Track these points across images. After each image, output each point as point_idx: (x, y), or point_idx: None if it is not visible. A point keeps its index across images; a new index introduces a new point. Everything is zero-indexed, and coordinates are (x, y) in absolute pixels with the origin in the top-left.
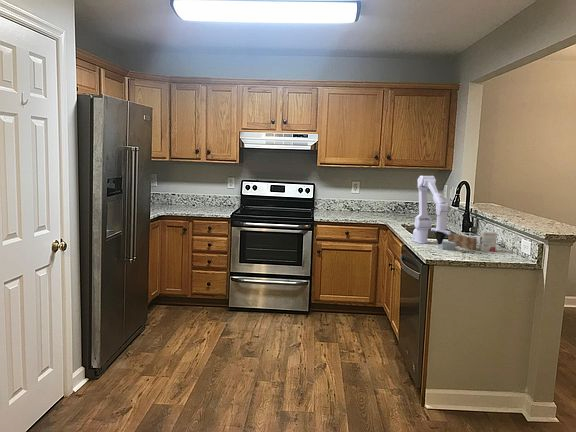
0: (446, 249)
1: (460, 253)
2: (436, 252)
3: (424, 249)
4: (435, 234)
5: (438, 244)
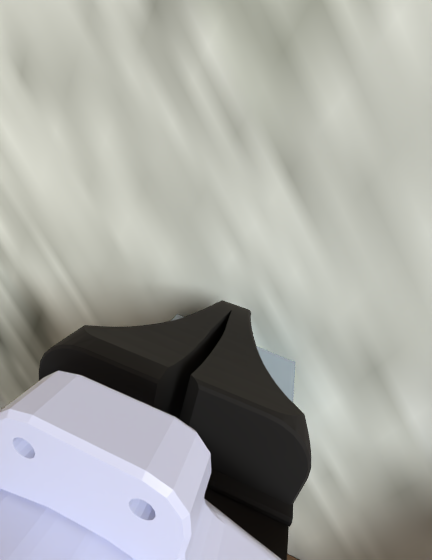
0: (174, 319)
1: (16, 254)
2: (137, 38)
3: (363, 55)
4: (269, 394)
5: (287, 383)
